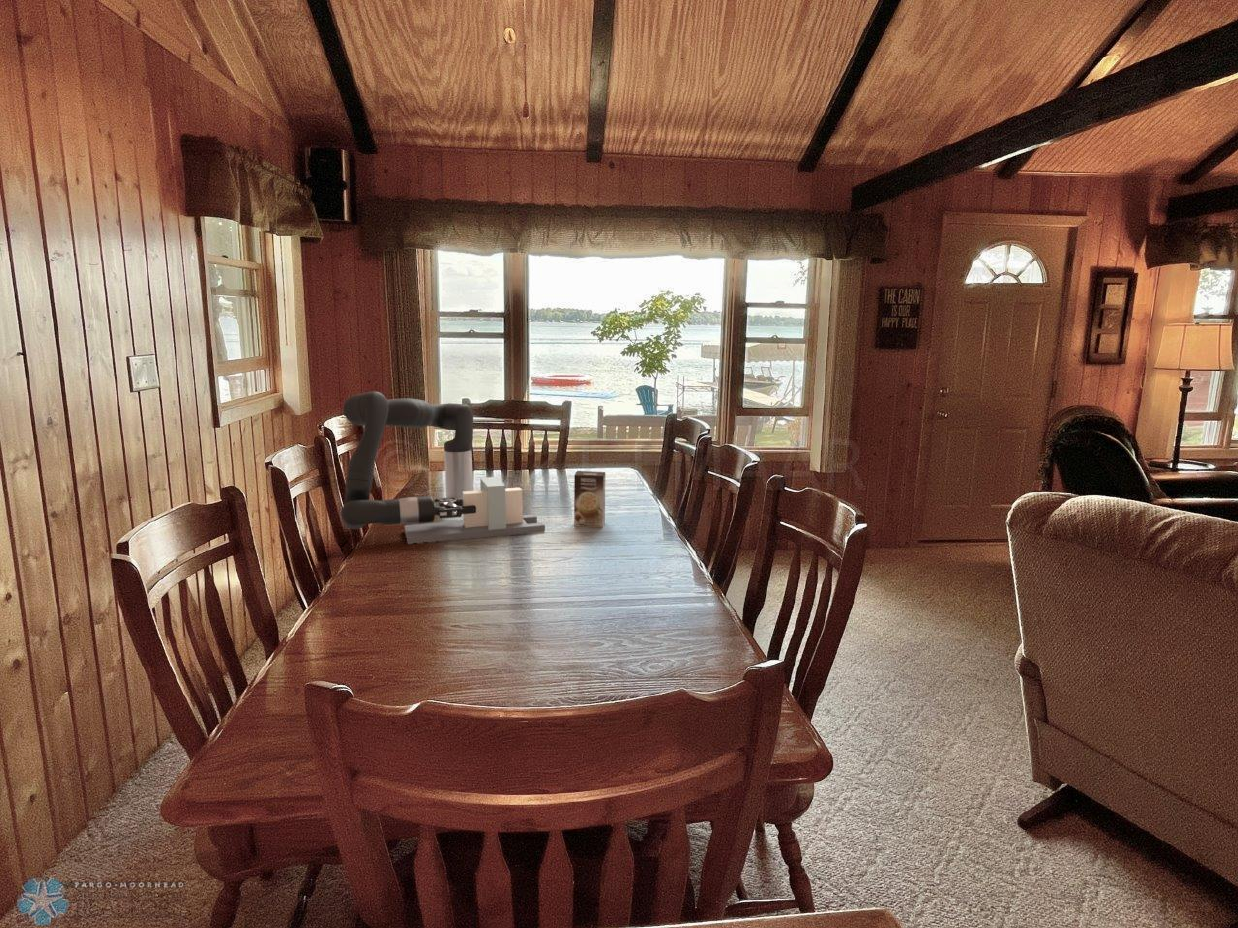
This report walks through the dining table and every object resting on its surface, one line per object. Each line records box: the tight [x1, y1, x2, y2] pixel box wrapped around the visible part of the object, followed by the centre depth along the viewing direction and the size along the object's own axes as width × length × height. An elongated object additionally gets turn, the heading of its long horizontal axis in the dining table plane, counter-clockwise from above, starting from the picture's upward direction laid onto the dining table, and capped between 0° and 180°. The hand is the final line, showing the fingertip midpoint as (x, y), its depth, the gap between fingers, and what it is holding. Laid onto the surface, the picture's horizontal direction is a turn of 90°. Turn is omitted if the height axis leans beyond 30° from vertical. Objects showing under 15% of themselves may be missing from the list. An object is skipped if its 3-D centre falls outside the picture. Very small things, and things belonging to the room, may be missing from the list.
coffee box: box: [573, 470, 606, 528], centre depth 221 cm, size 9×6×16 cm
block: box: [462, 487, 524, 528], centre depth 214 cm, size 3×17×10 cm, turn 110°
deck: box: [403, 513, 546, 545], centre depth 213 cm, size 13×39×2 cm, turn 110°
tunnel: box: [479, 476, 506, 530], centre depth 214 cm, size 13×5×13 cm, turn 20°
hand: (473, 505), depth 212 cm, fingers open, 8 cm apart
